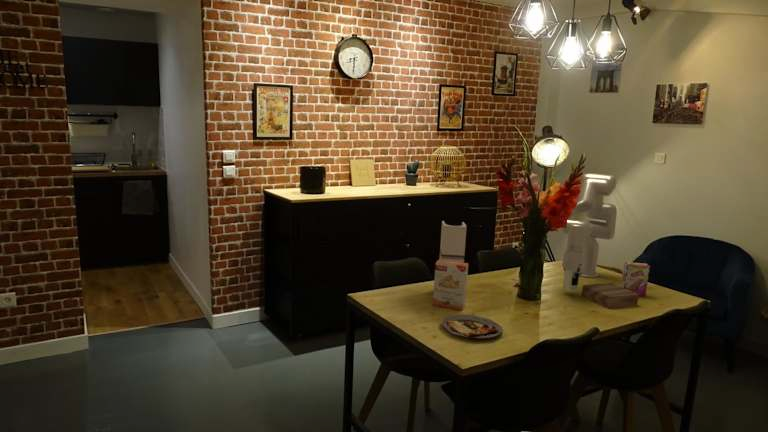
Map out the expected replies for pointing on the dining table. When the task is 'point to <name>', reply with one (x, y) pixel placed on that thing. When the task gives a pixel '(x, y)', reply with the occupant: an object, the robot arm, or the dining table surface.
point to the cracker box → (450, 284)
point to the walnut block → (610, 295)
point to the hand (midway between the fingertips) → (570, 282)
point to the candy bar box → (635, 277)
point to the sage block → (569, 281)
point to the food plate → (471, 326)
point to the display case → (453, 242)
